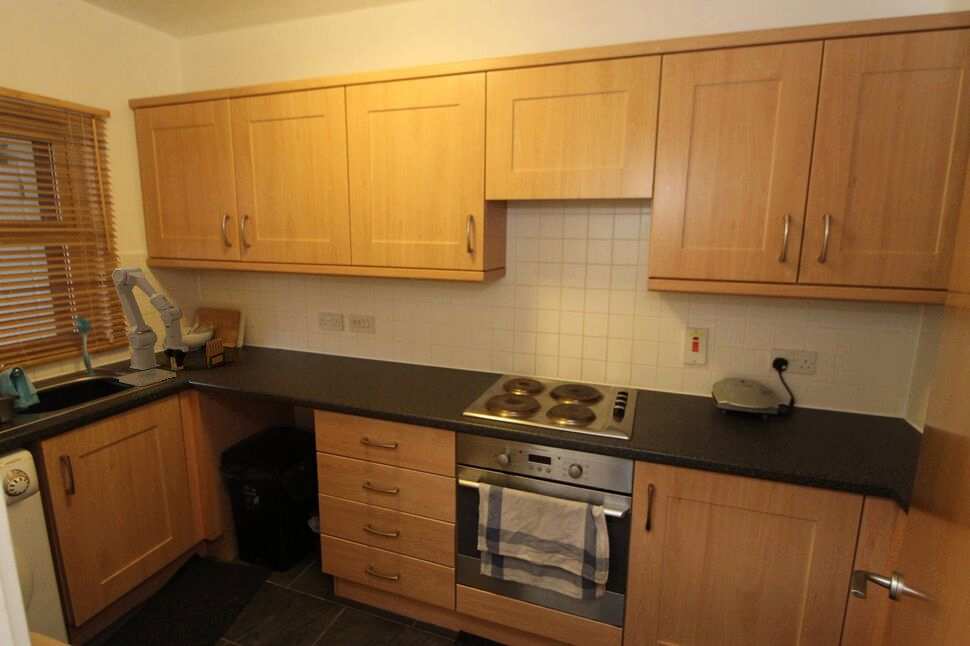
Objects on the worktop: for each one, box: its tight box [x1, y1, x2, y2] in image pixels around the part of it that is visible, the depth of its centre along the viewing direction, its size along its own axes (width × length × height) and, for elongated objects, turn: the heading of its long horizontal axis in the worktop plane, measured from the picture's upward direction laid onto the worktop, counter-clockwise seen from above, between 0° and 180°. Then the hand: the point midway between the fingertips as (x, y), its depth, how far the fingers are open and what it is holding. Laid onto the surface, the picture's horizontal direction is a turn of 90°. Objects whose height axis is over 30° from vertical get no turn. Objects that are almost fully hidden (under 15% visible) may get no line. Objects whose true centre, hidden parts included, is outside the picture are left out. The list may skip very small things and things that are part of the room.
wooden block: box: [170, 357, 184, 371], centre depth 217 cm, size 3×3×6 cm
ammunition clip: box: [205, 336, 227, 369], centre depth 223 cm, size 11×2×12 cm, turn 172°
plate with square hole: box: [118, 367, 177, 387], centre depth 202 cm, size 14×14×2 cm
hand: (177, 366), depth 217 cm, fingers closed on wooden block, 3 cm apart
